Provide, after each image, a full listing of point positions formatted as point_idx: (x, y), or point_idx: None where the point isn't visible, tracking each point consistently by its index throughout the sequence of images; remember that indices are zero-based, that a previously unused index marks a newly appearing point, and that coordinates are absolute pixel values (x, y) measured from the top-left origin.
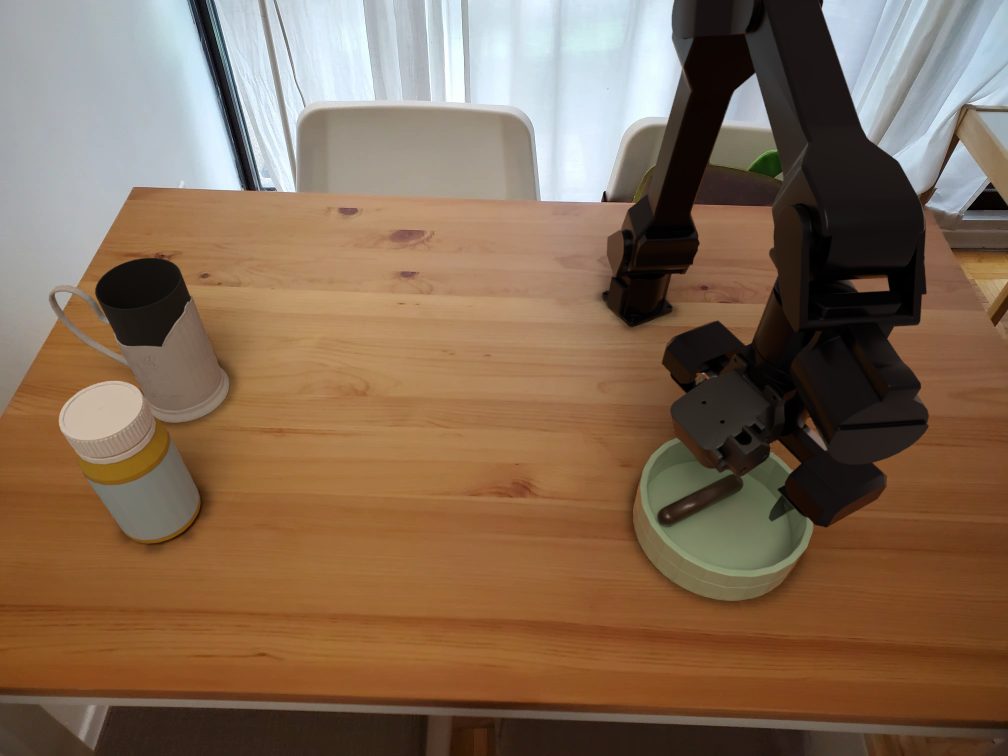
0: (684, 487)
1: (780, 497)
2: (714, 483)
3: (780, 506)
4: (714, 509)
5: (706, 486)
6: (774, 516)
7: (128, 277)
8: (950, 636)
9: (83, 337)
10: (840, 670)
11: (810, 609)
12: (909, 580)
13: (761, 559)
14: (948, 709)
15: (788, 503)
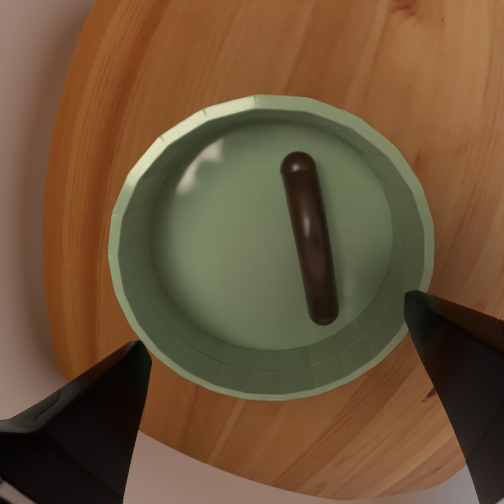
0: (350, 233)
1: (59, 410)
2: (331, 281)
3: (74, 388)
4: (294, 261)
5: (331, 266)
6: (112, 355)
7: None
8: None
9: None
10: (70, 293)
11: None
12: (157, 400)
13: (194, 286)
14: (54, 350)
15: (35, 412)
